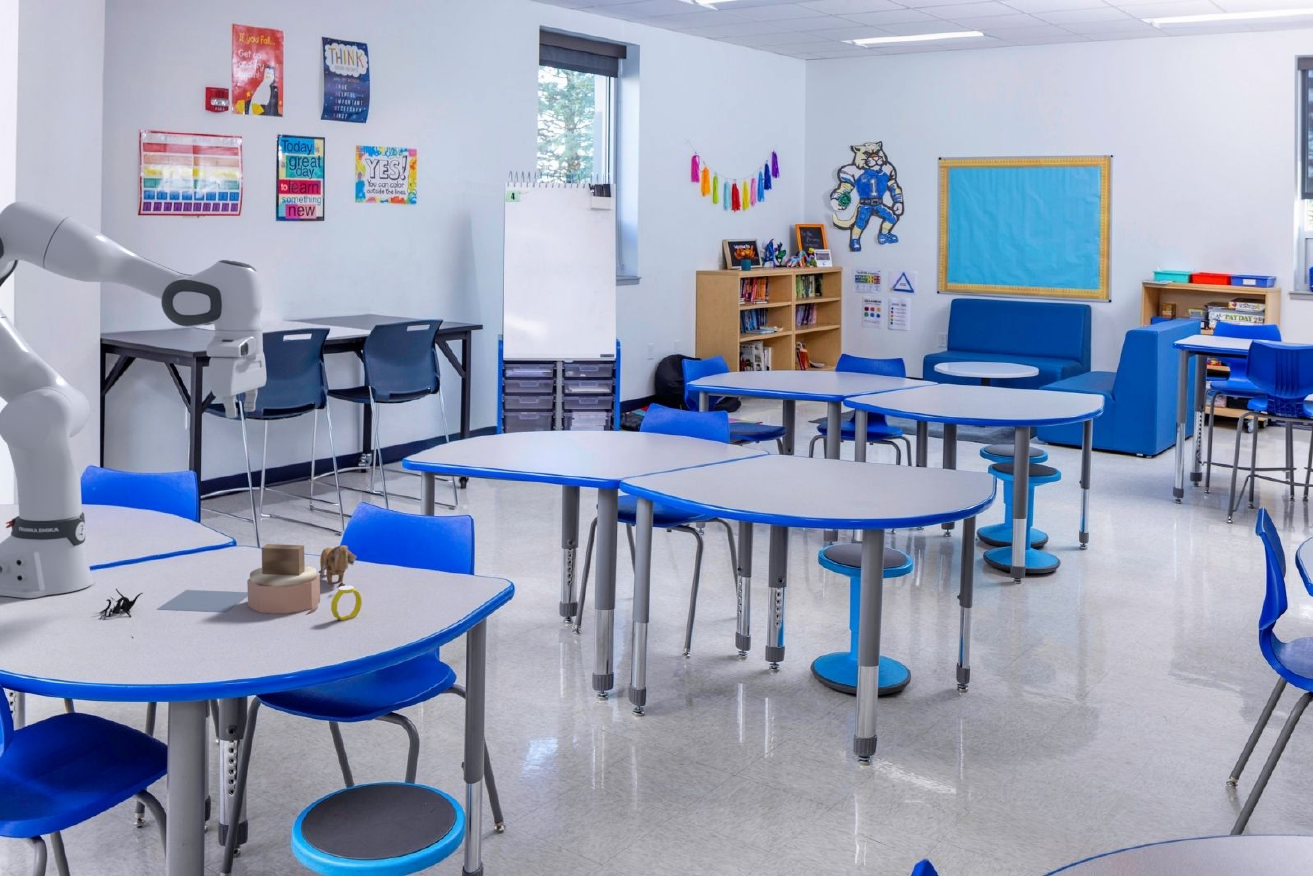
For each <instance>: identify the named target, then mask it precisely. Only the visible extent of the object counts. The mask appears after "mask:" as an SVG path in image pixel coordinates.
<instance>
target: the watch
mask: <svg viewBox="0 0 1313 876" xmlns="http://www.w3.org/2000/svg"><path fill="white" fill-rule="evenodd" d="M350 593H353V594H354V597H355V605H354V609H353V610H352V611H351V613H350V614H347V615H343V616H340V614H339V611H338V602H339V601H340V599H341V597H342V596H343V595H344V594H350ZM362 604H363V601H362V595H361V594H360V592H359V591H358V590H356V589H355V587H354V586H353V585H345V586H341V587H339V586H338V590H337V592H336V593H335V594H334V596H333V598H332V600H331V605H330V609H331V613H332V615H333V616H334V617H335V618H336V619H337V620H339V621H346V620H349V619H353V618H356V617H357V615H359V613H360V611H361V608H362Z"/></svg>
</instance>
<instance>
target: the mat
mask: <svg viewBox="0 0 1313 876" xmlns="http://www.w3.org/2000/svg"><path fill="white" fill-rule="evenodd" d="M246 598H248V591H225V590H223V591H222V590H202V589H201V590H199V589H196V590H195V589H184V591H183V592H181V593H179V594H177V595H176V596H174V597H173V598H171V599H170V600H169V601H167V602H165V603H164V604H163V605H161V606H159V607H157V608H156V610H158V611H159V610H161V611H186V612H208V613H228V612H229V611H230V610H232V609H234V607H235V606H237V605H239V604H240V603H241V602H242V601H244V600H245V599H246Z"/></svg>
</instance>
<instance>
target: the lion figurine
mask: <svg viewBox="0 0 1313 876" xmlns="http://www.w3.org/2000/svg"><path fill="white" fill-rule="evenodd" d="M356 559H357V555H355V554H354V553H352V552H351V551H350V550H349V547H348V545H341V544H340V545H338V546H335V547H334V548H332V547H326V548H324V549H323V550H322V551H321V553H320V559H319V563H320V570H319V571H318V573H319V576H320V577H324V576H325V571H326V580H327V584H329V585H331V584H333V576H338V579H337V582H338V583H339V584H338V587H339V586H346V584H345V583H344V581H343V580H344V576H345V575H344V574H345V571H346V570H348V569H349V565H351V566H353V565H354V563H355V562H356Z"/></svg>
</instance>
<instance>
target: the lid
mask: <svg viewBox="0 0 1313 876" xmlns="http://www.w3.org/2000/svg"><path fill="white" fill-rule="evenodd" d="M317 573H318V570H317V569H316V568H315V567H313V566H309V565H305V545H300V544H278V543H277V544H275V543H274V544H272V543H267V544H265V545H264V546H262V547H261V567H259V568H256V569H254V570H252V571H251V572H250V573H249V579H250V581H251V582H252V583H254V584H257V585H262V586H271V587H283V586H294V585H300V584H305V583H308V582H311V581H313V580H315V579H316V578H317V575H318V574H317Z"/></svg>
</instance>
